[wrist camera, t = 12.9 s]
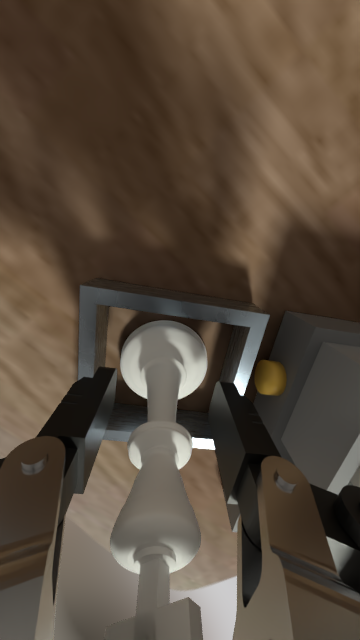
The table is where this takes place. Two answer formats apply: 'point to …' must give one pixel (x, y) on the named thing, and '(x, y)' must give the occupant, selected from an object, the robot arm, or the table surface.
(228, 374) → the frame
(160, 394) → the chess piece
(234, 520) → the yellow-knobbed grey box
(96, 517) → the table surface
